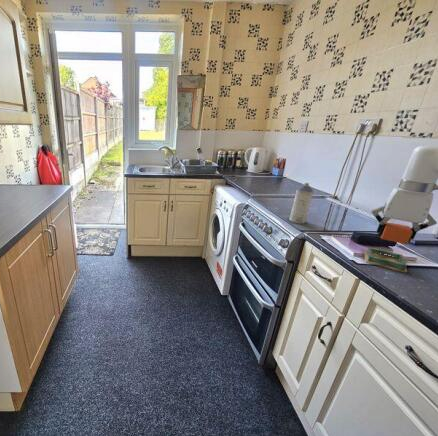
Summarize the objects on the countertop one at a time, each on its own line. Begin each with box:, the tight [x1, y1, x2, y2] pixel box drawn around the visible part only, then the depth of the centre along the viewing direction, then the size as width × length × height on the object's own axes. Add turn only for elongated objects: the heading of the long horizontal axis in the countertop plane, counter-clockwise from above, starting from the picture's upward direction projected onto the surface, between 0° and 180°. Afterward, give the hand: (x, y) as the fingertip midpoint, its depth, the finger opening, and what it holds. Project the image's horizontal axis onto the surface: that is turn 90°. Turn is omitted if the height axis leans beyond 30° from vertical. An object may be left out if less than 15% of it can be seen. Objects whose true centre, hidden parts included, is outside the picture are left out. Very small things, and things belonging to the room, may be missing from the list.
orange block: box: [380, 221, 413, 245], centre depth 84 cm, size 6×6×4 cm
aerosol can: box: [288, 182, 314, 225], centre depth 120 cm, size 7×7×20 cm
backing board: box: [363, 246, 408, 274], centre depth 88 cm, size 11×11×3 cm
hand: (393, 236), depth 85 cm, fingers closed on orange block, 6 cm apart
